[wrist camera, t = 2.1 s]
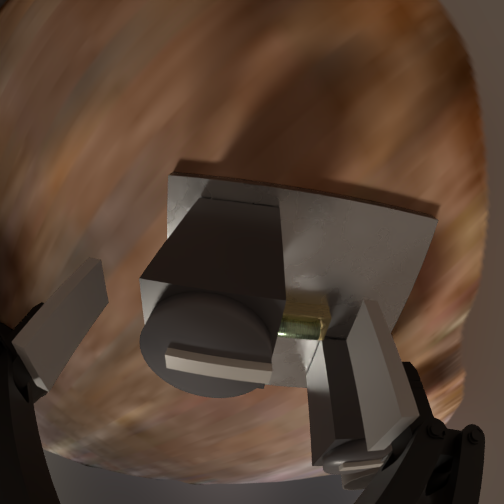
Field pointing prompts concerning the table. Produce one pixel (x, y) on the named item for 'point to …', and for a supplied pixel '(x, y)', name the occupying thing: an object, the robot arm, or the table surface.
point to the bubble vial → (304, 321)
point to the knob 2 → (337, 413)
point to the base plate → (324, 254)
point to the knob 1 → (215, 299)
